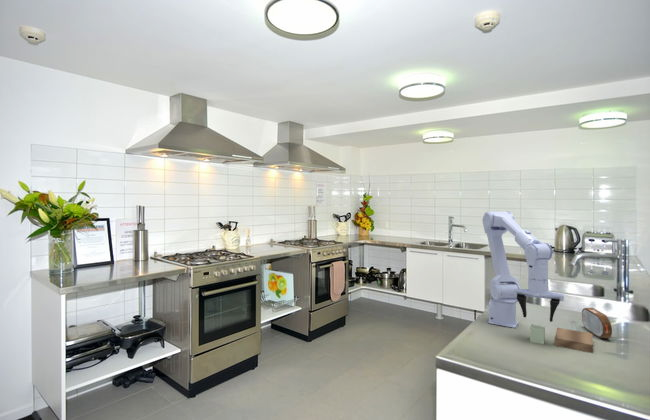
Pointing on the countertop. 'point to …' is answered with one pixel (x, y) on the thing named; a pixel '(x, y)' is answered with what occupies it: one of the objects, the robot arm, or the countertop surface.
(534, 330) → the sage cube
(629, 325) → the countertop surface
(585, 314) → the tin
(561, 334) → the walnut block
